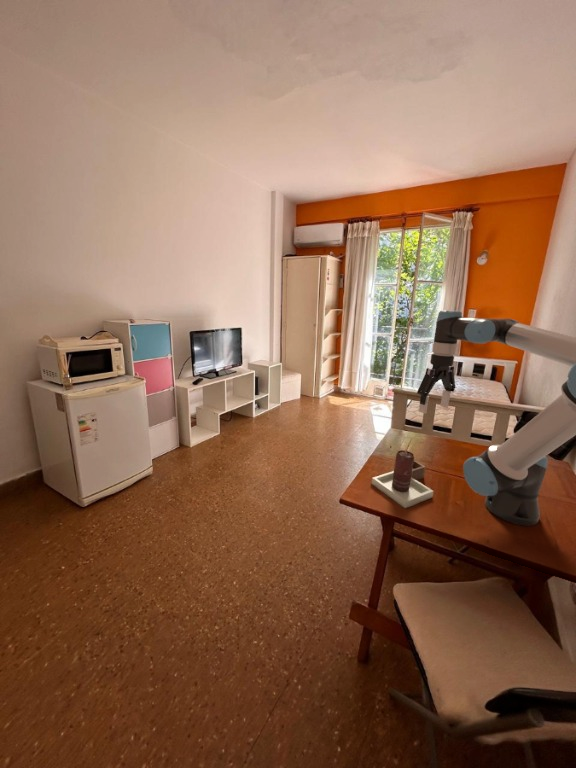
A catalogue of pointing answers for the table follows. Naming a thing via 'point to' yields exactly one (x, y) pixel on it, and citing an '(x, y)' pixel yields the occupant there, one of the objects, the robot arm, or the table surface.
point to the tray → (405, 499)
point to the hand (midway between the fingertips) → (433, 409)
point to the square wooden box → (418, 471)
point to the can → (403, 471)
